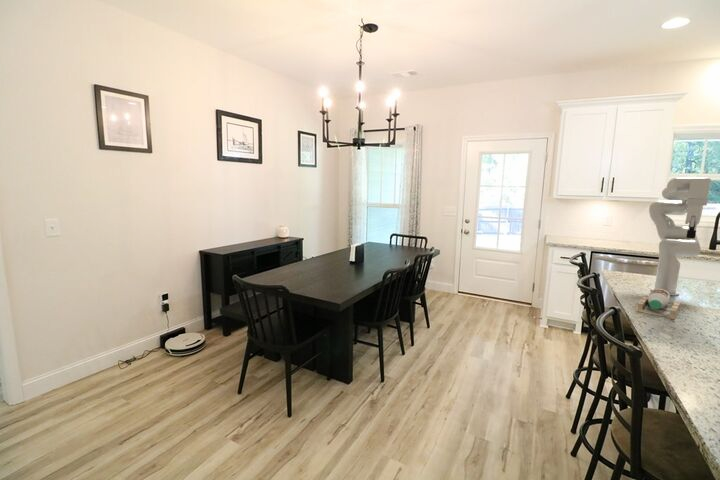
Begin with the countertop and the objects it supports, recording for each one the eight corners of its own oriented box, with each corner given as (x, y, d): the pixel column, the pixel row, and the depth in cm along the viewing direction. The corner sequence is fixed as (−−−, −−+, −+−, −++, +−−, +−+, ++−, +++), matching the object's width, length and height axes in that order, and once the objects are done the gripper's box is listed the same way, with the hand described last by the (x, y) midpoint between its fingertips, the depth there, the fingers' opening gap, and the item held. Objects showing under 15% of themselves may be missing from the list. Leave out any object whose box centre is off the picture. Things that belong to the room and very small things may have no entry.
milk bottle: (674, 297, 176) (670, 307, 162) (659, 305, 181) (654, 315, 167) (661, 285, 179) (656, 294, 166) (646, 293, 184) (640, 302, 170)
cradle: (643, 302, 184) (645, 294, 184) (679, 309, 174) (680, 301, 174) (636, 310, 171) (637, 303, 170) (674, 319, 161) (676, 310, 160)
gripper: (687, 201, 183) (682, 235, 186) (685, 202, 173) (679, 238, 176) (707, 202, 178) (701, 237, 180) (706, 203, 167) (699, 240, 170)
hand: (690, 237), depth 178 cm, fingers closed
